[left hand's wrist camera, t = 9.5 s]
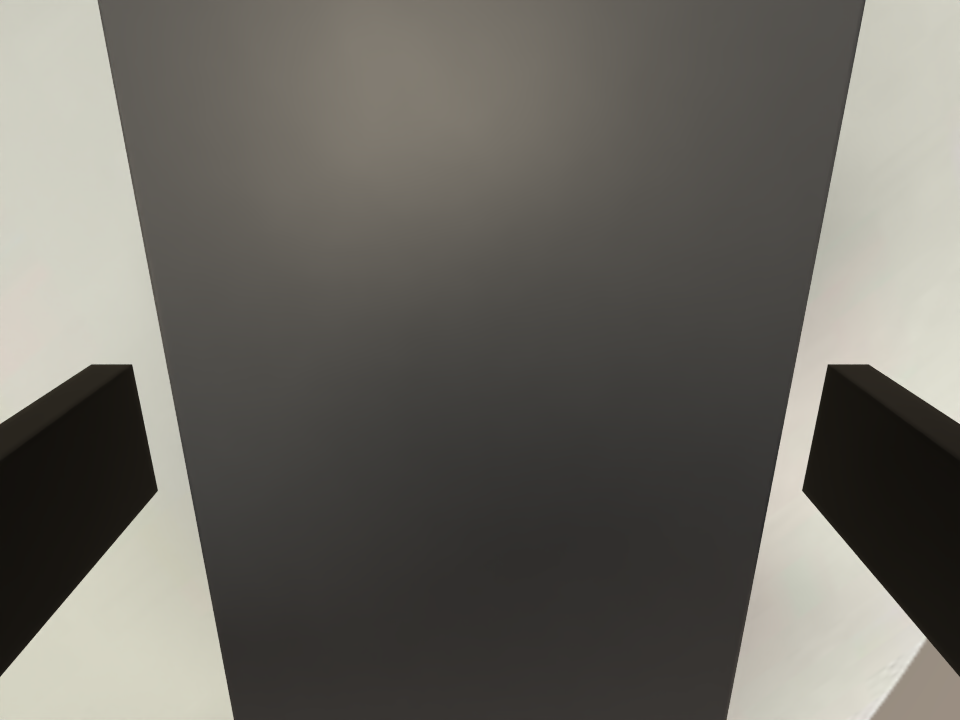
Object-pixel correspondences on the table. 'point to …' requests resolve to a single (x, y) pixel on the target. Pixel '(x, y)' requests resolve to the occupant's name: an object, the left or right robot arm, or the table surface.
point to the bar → (480, 333)
